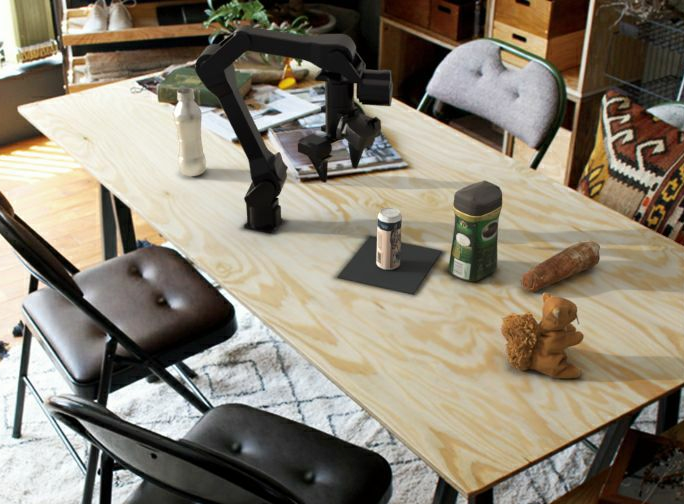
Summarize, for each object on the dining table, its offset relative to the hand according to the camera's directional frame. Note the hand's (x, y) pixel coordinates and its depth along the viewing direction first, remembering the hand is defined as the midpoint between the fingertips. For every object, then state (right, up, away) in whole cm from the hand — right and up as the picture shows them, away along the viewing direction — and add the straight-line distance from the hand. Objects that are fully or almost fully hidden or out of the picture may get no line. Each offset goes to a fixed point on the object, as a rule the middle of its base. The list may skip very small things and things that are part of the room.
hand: (339, 174), depth 212 cm
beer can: (+10, -19, -4) cm, 22 cm away
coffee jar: (+27, -20, -4) cm, 34 cm away
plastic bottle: (-35, +6, +29) cm, 46 cm away
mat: (+10, -19, -3) cm, 22 cm away
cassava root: (+44, -22, -6) cm, 50 cm away
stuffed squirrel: (+36, -39, -29) cm, 61 cm away
